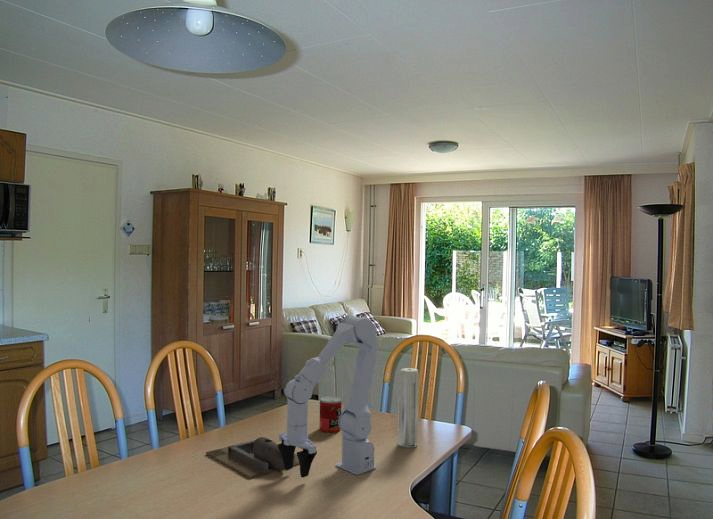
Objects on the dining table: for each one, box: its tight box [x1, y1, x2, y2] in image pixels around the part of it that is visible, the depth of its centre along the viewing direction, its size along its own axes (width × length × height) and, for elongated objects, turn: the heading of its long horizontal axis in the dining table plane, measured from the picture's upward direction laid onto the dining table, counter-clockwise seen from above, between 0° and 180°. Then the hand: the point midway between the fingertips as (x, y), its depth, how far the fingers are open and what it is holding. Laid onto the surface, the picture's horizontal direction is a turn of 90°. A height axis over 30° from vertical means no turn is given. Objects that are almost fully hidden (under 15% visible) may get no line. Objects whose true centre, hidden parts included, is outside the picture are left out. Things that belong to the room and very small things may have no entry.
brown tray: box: [205, 439, 300, 480], centre depth 170 cm, size 25×20×3 cm
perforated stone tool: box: [252, 436, 286, 471], centre depth 164 cm, size 15×5×7 cm, turn 39°
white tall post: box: [397, 367, 420, 449], centre depth 185 cm, size 6×6×25 cm
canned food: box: [319, 395, 343, 433], centre depth 200 cm, size 8×8×11 cm
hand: (296, 472), depth 155 cm, fingers open, 7 cm apart
